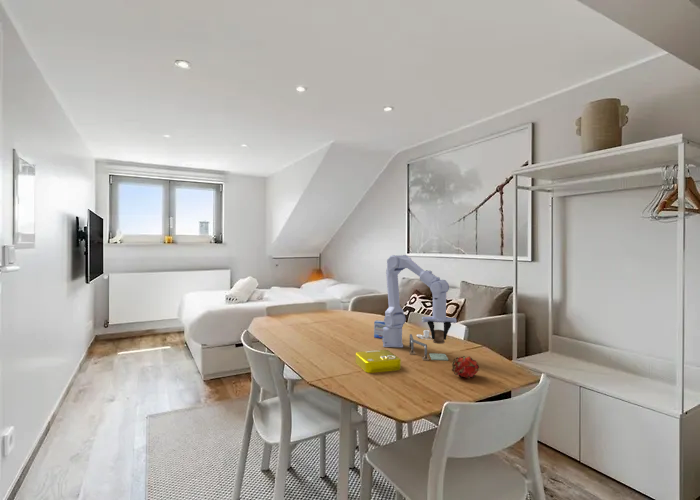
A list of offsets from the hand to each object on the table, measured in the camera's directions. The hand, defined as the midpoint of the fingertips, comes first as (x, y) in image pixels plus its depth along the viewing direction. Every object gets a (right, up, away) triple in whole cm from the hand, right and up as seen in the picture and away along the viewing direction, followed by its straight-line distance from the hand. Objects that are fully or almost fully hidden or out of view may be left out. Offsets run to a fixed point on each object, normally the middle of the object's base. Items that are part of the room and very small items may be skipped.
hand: (438, 338), depth 162 cm
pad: (0, -8, 0) cm, 8 cm away
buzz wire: (-8, -8, +6) cm, 13 cm away
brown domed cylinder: (0, -1, 0) cm, 1 cm away
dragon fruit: (+4, -9, -23) cm, 25 cm away
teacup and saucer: (0, -8, +38) cm, 38 cm away
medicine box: (-22, -8, +34) cm, 41 cm away
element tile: (-28, -8, -12) cm, 31 cm away
